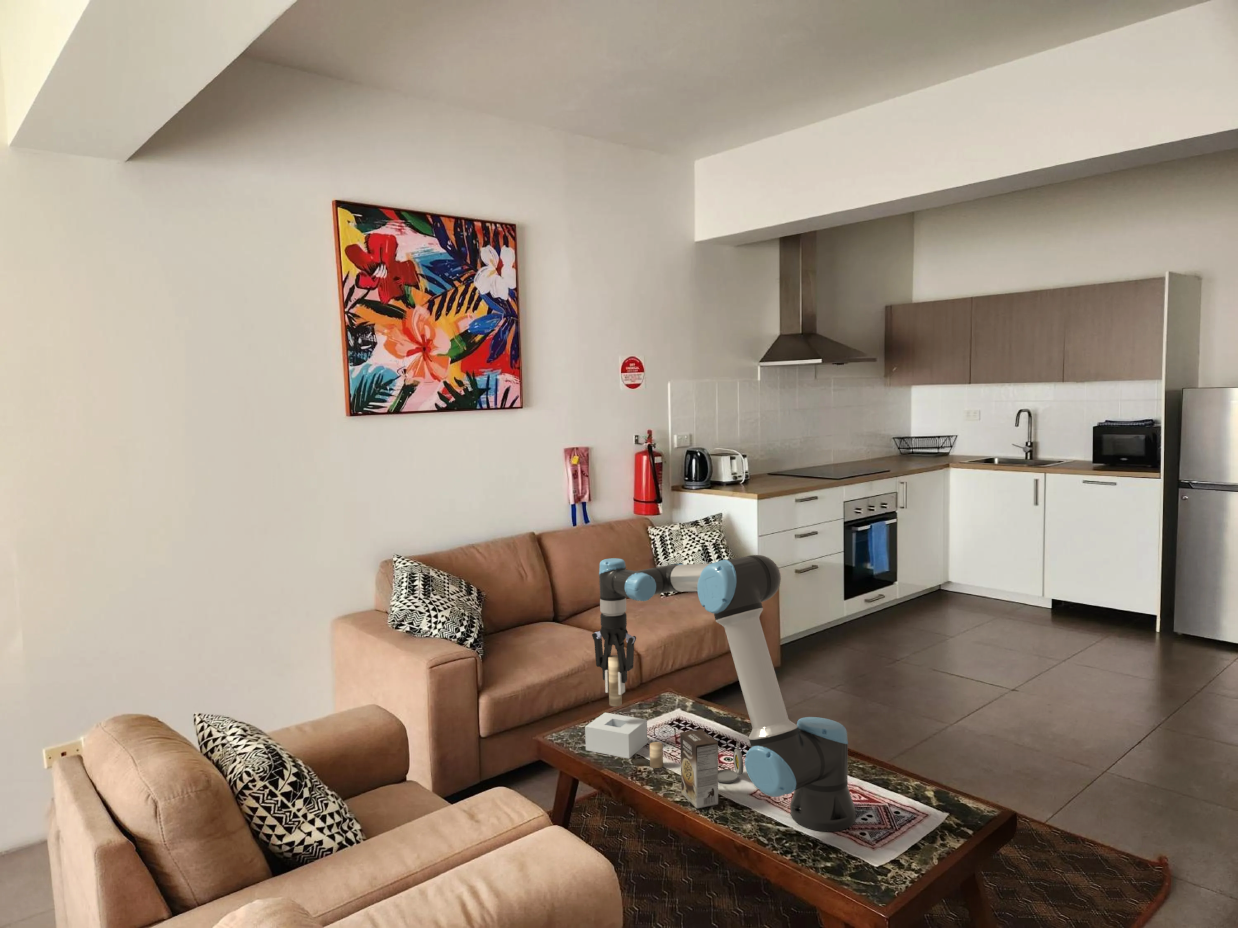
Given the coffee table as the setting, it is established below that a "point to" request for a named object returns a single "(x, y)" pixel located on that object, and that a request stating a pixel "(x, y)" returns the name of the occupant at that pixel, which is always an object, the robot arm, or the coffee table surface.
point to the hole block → (616, 735)
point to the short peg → (656, 755)
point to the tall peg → (614, 681)
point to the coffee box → (699, 768)
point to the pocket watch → (731, 775)
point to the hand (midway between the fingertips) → (615, 691)
